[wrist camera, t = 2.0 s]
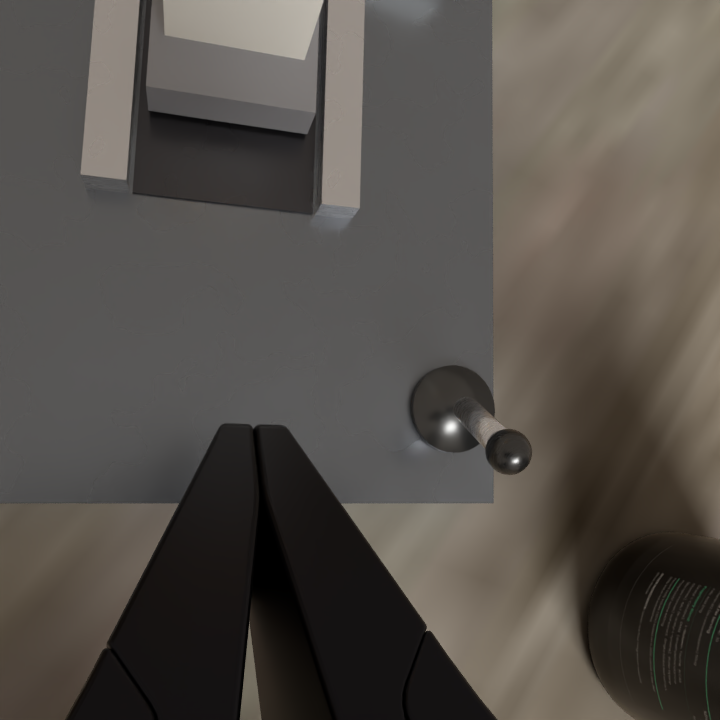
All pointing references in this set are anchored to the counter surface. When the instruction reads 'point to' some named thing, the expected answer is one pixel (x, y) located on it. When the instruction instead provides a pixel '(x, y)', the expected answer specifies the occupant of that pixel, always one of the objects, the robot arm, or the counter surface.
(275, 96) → the slide paddle
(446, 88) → the console
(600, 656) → the supplement bottle
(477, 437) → the toggle lever
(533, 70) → the counter surface
